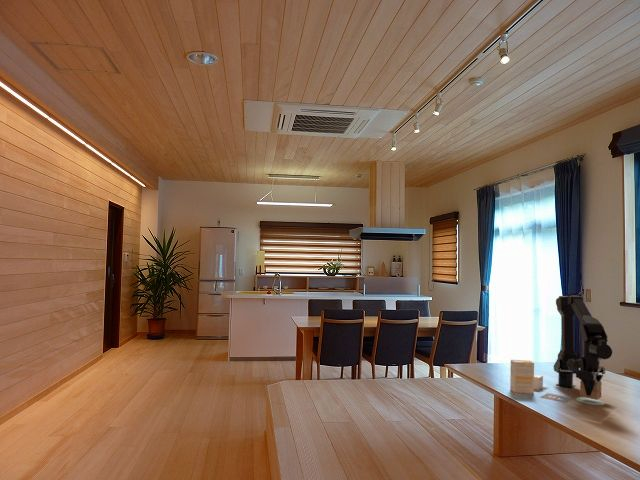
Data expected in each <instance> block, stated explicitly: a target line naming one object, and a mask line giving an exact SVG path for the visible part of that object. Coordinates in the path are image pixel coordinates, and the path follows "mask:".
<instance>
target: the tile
mask: <svg viewBox="0 0 640 480" xmlns="http://www.w3.org/2000/svg"><path fill="white" fill-rule="evenodd" d="M548 389H549V387H546V386H543V388H541V389H539V390H537V389H534V391H537V392H544V391H546V390H548Z"/></svg>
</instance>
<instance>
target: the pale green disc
mask: <svg viewBox="0 0 640 480" xmlns="http://www.w3.org/2000/svg"><path fill="white" fill-rule="evenodd" d="M575 400H577V401H578V402H581V403H584V404H588V405H593V406H594V405H595V406H603V405H604V406H605V404H606V402H605V401H603V400H600V399H598V400H595V399H590V398H586V397H581V396H579V397H576V398H575Z"/></svg>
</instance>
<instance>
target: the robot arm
mask: <svg viewBox="0 0 640 480" xmlns="http://www.w3.org/2000/svg"><path fill="white" fill-rule="evenodd" d="M555 306H556V310H557V312H558V313H559V315H560V318H561V319H560V322H561V331H560V332H561V349H560V351H559V352H558V354H557V359H556V361H555V362H554V365H553V371H554V372H556V374H558V376H557V377H558V382H557V383H556V384H555V386H556V387H562V388H567V389H571V390H572V389H573V388H575V387H576V385H575V384H574V375H575V378H577V379H579V380H580V381H581V380H582V381H583V384H584V387H585V391H586V394H587V396H590V395H591V392H592V390H593V388H594V385H595V383H596V381H601V382H602V379H603V378H604V375H606V370H607V369H606V368H605V367H604V366H603V365H600V361H601V360H607V359H610V358H611V357H612V355H613V350H612V347H611V346H610V345H609V344H608V335H607V333H606V331H605V328H604V326H603V324H602V323H601V322H600V320H599V319H597V318H596V317H593V315H592V314H591V312H590V311H589V309H588V307H587V306H586V304H585V302H584V298H583V296H580V295H559V296H558V297H557V298H556V299H555ZM575 315H576V317H577V319H578V321H579V324H580V325H579V331H580V334H581V335H582V338H581V340H582V341H583V342H582V344H583V346H582V347H583V348H582V355H581V357H580V356H579V354H577V353H576V351H575V344H574V343H575V339H574V337H575V336H574V333H575V331H574V316H575Z"/></svg>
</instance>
